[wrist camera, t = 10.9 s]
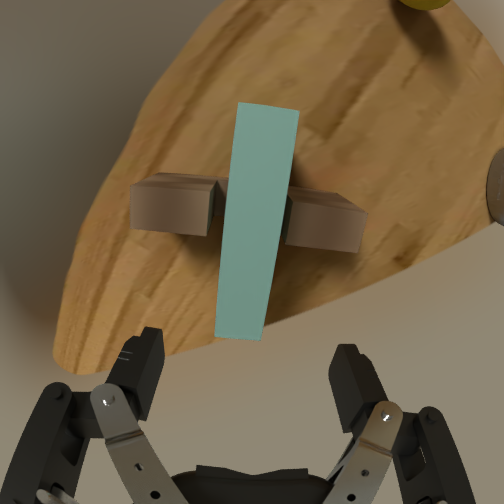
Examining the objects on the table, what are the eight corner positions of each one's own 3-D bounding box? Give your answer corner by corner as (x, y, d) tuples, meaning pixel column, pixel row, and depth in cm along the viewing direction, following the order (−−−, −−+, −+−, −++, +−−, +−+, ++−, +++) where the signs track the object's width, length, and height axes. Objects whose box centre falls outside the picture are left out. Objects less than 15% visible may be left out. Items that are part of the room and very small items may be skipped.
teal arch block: (240, 118, 19) (238, 102, 10) (275, 122, 19) (299, 110, 11) (223, 266, 23) (214, 336, 15) (254, 269, 24) (260, 340, 15)
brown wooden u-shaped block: (337, 193, 21) (367, 213, 16) (330, 224, 22) (357, 253, 17) (159, 172, 20) (130, 185, 15) (157, 204, 21) (130, 228, 16)
